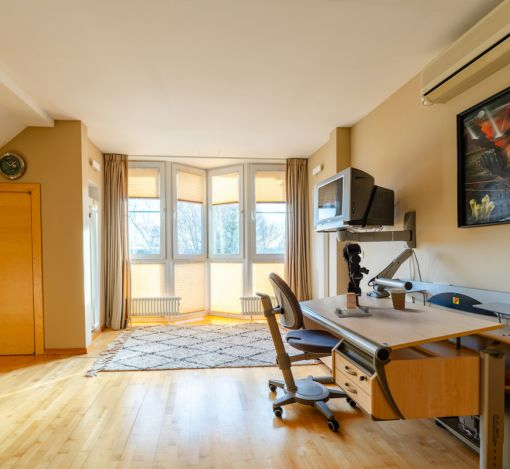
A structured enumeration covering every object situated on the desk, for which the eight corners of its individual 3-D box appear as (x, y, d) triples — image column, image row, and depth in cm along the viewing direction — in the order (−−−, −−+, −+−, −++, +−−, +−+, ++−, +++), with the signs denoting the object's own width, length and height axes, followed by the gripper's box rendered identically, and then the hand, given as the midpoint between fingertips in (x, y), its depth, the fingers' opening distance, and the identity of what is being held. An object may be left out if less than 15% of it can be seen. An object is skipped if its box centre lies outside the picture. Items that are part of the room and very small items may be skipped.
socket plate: (334, 312, 215) (334, 306, 215) (364, 311, 214) (364, 305, 214) (338, 317, 201) (338, 310, 201) (371, 315, 200) (370, 309, 200)
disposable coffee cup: (408, 310, 210) (406, 289, 210) (391, 310, 213) (389, 290, 213) (407, 307, 219) (405, 287, 219) (390, 307, 222) (389, 287, 222)
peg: (347, 311, 210) (346, 293, 210) (354, 311, 209) (353, 292, 210) (349, 313, 205) (347, 294, 206) (356, 312, 205) (355, 293, 205)
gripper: (371, 263, 211) (373, 289, 210) (364, 262, 230) (366, 286, 229) (352, 264, 212) (354, 290, 211) (346, 263, 231) (348, 287, 230)
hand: (356, 288), depth 220 cm, fingers open, 9 cm apart
